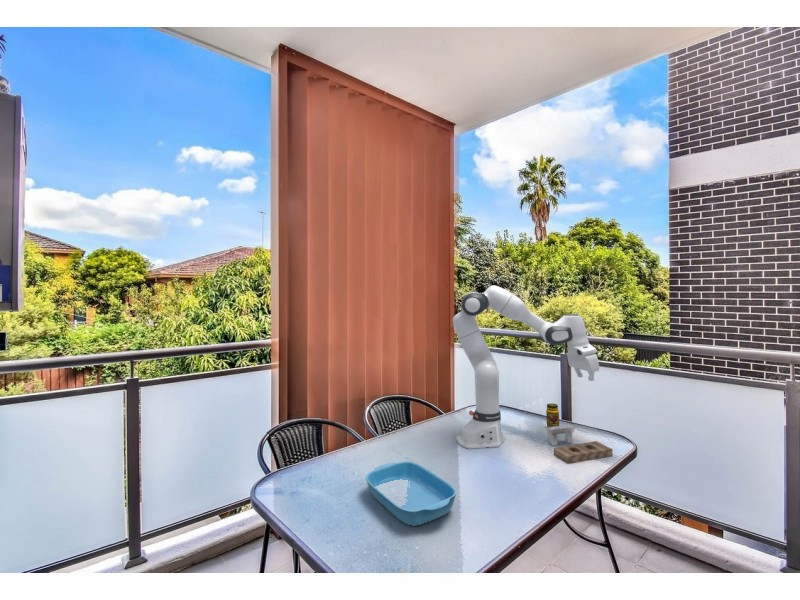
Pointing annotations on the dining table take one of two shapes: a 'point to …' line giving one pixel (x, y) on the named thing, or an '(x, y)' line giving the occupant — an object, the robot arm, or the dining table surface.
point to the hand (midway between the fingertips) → (585, 378)
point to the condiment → (552, 415)
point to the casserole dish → (413, 492)
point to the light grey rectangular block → (560, 430)
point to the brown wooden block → (582, 452)
